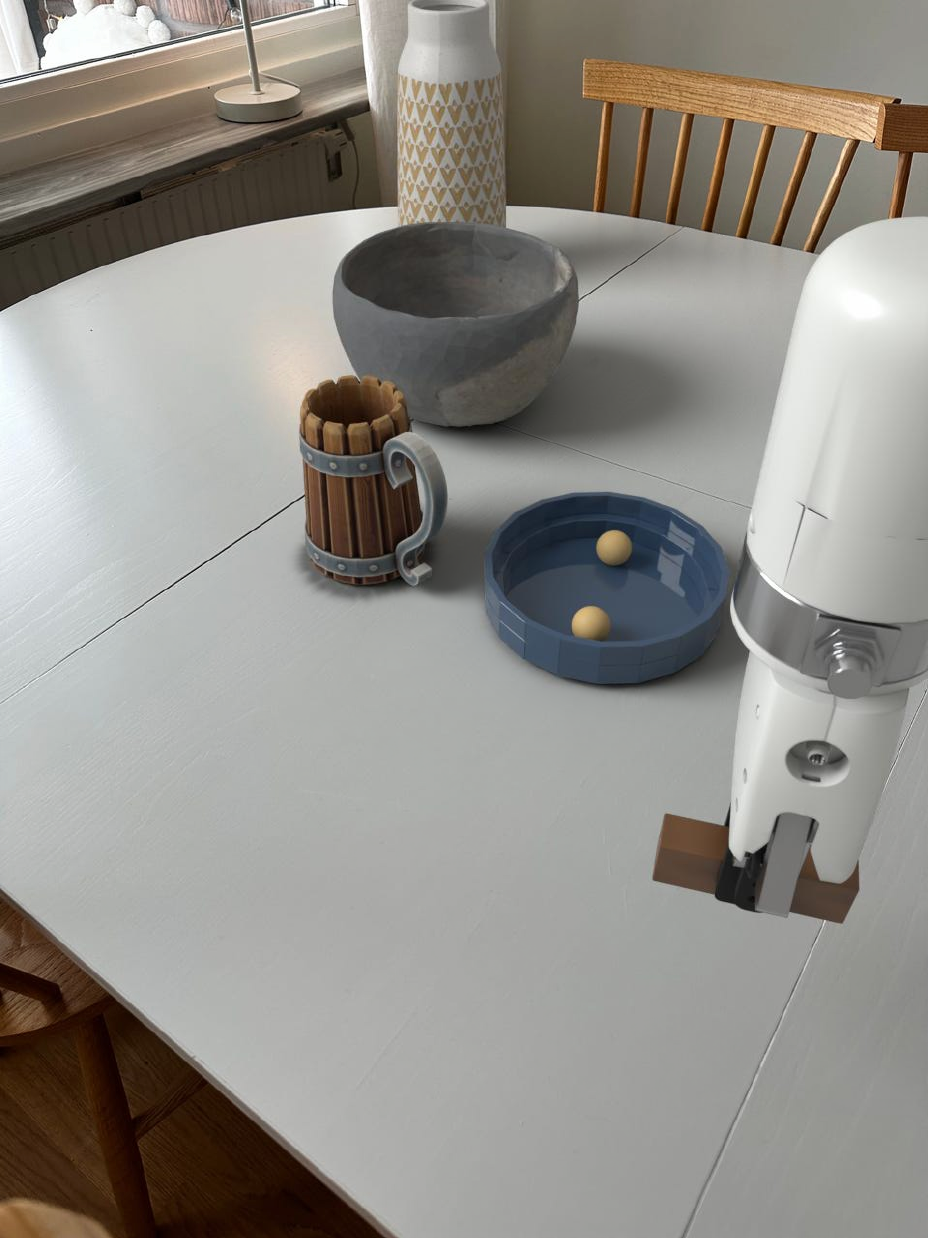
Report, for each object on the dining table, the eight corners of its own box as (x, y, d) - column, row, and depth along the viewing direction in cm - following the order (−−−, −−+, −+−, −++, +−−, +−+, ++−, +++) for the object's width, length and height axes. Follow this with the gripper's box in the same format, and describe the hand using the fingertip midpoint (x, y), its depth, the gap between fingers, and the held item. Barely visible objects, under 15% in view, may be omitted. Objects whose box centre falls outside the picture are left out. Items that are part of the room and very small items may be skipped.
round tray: (730, 553, 85) (739, 512, 82) (705, 711, 72) (715, 669, 69) (517, 517, 90) (518, 476, 87) (456, 660, 76) (455, 618, 73)
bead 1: (612, 630, 78) (615, 602, 76) (605, 656, 76) (608, 627, 74) (574, 623, 78) (577, 595, 76) (566, 648, 76) (569, 620, 74)
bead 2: (632, 553, 85) (636, 526, 83) (626, 575, 83) (630, 547, 81) (598, 547, 85) (601, 520, 83) (591, 569, 83) (594, 541, 81)
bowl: (581, 463, 96) (593, 319, 86) (333, 466, 96) (315, 322, 86) (561, 344, 114) (569, 214, 104) (352, 347, 114) (340, 217, 104)
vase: (394, 256, 133) (379, -8, 112) (493, 248, 135) (496, -13, 114) (408, 299, 123) (394, 19, 102) (515, 290, 125) (522, 12, 104)
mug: (283, 547, 87) (258, 397, 77) (377, 500, 92) (365, 353, 82) (393, 638, 78) (380, 482, 68) (490, 580, 83) (492, 427, 73)
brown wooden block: (842, 888, 47) (859, 854, 45) (842, 925, 46) (859, 890, 44) (656, 847, 49) (664, 812, 47) (651, 881, 48) (659, 846, 46)
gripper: (981, 787, 28) (830, 1058, 41) (939, 481, 40) (831, 767, 52) (718, 737, 30) (650, 1013, 42) (750, 456, 41) (688, 740, 54)
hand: (750, 876), depth 47 cm, fingers closed on brown wooden block, 2 cm apart
